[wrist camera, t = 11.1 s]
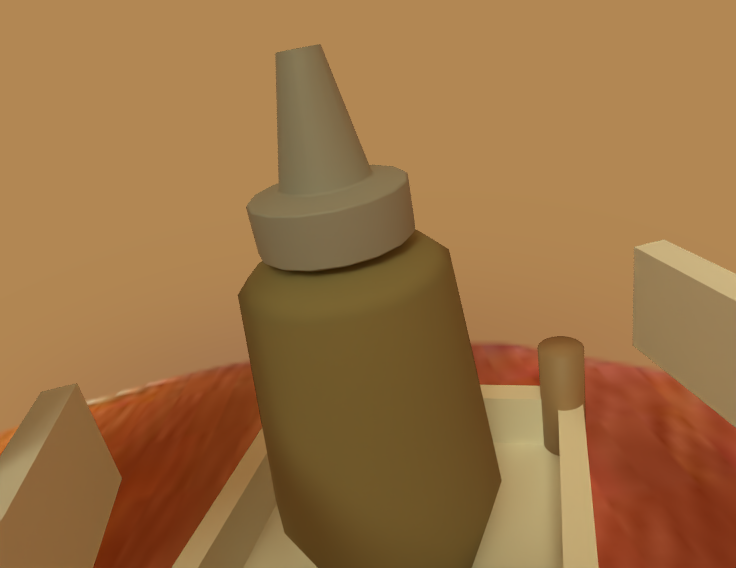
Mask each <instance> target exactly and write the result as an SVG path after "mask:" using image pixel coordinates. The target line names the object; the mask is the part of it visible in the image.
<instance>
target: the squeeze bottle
mask: <svg viewBox="0 0 736 568" xmlns="http://www.w3.org/2000/svg"><path fill="white" fill-rule="evenodd" d="M276 92H277V127H278V129H277V131H278V164H279V165H278V167H279V168H278V170H279V184H276V185H273V186H271V187H269V188H267V189H265V190H263V191H262V192H260V193H258V194H256V195H255V196H254V197H253V198H252V199H251V201H250V202H249V203H248V205H247V207H246V209H247V212H248V216H249V220H250V223H251V227H252V231H253V234H254V238H255V242H256V245H257V249H258V253H259V255H260V257H261V259H262V260H263V261H262V262H260V263H259V264H258V265H257V267H256V268H255V269H254V271H253V272H252V273H251V275H250V276H249V277H248V279H247V281H246V282H245V284H244V286H243V287H242V289H241V291H240V293H239V294H238V298H239V304H240V309H241V314H242V320H243V325H244V331H245V336H246V341H247V347H248V352H249V358H250V363H251V369H252V374H253V380H254V385H255V390H256V396H257V401H258V407H259V412H260V417H261V423H262V428H263V434H264V439H265V444H266V450H267V455H268V461H269V466H270V471H271V477H272V482H273V488H274V493H275V499H276V503H277V507H278V510H279V514H280V518H281V522H282V525H283V529H284V533H285V534H286V535H287V536H288V537H289V538H290V539H291V540H292V542H293V543H294V544H295V545H296V546H297V547H298V548H299V549H300V550H301V551H302V552H303V553H304V554H305V555H306V556H307V557H308V558H309V559H310V560H311V561H312V562H313V563H314V564H315V565H316V567H317V568H472V566H473V563H474V560H475V557H476V554H477V551H478V549H479V546H480V543H481V540H482V537H483V534H484V532H485V529H486V526H487V523H488V520H489V517H490V514H491V511H492V508H493V505H494V502H495V499H496V496H497V493H498V490H499V487H500V484H501V481H502V480H501V475H500V471H499V466H498V462H497V457H496V453H495V448H494V444H493V439H492V435H491V431H490V426H489V422H488V418H487V413H486V409H485V405H484V400H483V396H482V392H481V387H480V383H479V379H478V374H477V370H476V366H475V361H474V357H473V353H472V348H471V344H470V340H469V335H468V331H467V327H466V322H465V318H464V314H463V309H462V305H461V301H460V296H459V292H458V288H457V283H456V279H455V275H454V270H453V266H452V262H451V257H450V253H449V249H447V248H445V247H444V246H442V245H441V244H439V243H438V242H436V241H434V240H433V239H431V238H430V237H428V236H426V235H425V234H423V233H421V232H419V231H418V230H415V223H414V215H413V208H412V201H411V194H410V187H409V180H408V174H407V173H406V172H405V171H403V170H400V169H398V168H396V167H393V166H381V165H369V164H368V161H367V159H366V156H365V154H364V151H363V149H362V146H361V144H360V142H359V139H358V136H357V134H356V131H355V129H354V126H353V124H352V121H351V119H350V116H349V114H348V111H347V109H346V106H345V104H344V102H343V99H342V97H341V94H340V92H339V89H338V87H337V84H336V82H335V79H334V77H333V74H332V72H331V69H330V67H329V64H328V62H327V60H326V57H325V54H324V52H323V49H322V47H321V45H320V44H319V45H314V46H308V47H302V48H297V49H292V50H287V51H282V52H277V53H276Z"/></svg>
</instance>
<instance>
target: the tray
mask: <svg viewBox="0 0 736 568" xmlns="http://www.w3.org/2000/svg"><path fill="white" fill-rule="evenodd" d="M538 361H539V377H540V386H526V385H480V387H481V392H482V396H483V400H484V405H485V409H486V413H487V418H488V422H489V426H490V431H491V435H492V439H493V444H494V448H495V453H496V457H497V462H498V466H499V471H500V475H501V480H502V481H501V484H500V487H499V490H498V493H497V496H496V499H495V502H494V505H493V508H492V511H491V514H490V517H489V520H488V523H487V526H486V529H485V532H484V534H483V537H482V540H481V543H480V546H479V549H478V551H477V554H476V557H475V560H474V563H473V566H472V568H599V567H598V556H597V545H596V535H595V524H594V514H593V503H592V492H591V482H590V471H589V461H588V450H587V439H586V416H585V371H584V346H583V344H582V343H581V342H579V341H578V340H576V339H573V338H570V337H564V336H557V337H551V338H547V339H545V340H543V341H542V342H541V343H539V345H538ZM172 568H317V567H316V565H315V564H314V563H313V562H312V561H311V560H310V559H309V558H308V557H307V556H306V555H305V554H304V553H303V552H302V551H301V550H300V549H299V548H298V547H297V546H296V545H295V544H294V543H293V542H292V540H291V539H290V538H289V537H288V536H287V535H286V534H285V533H284V529H283V525H282V522H281V518H280V514H279V510H278V507H277V503H276V499H275V493H274V488H273V482H272V477H271V471H270V466H269V461H268V455H267V450H266V444H265V439H264V434H263V428H261V430H260V431H259V433H258V434H257V436H256V438H255V439H254V441H253V442H252V444H251V445H250V447H249V448H248V450H247V451H246V453H245V455H244V456H243V458H242V459H241V461H240V462H239V464H238V465H237V467H236V469H235V470H234V472H233V473H232V475H231V476H230V478H229V479H228V481H227V482H226V484H225V486H224V487H223V489H222V490H221V492H220V493H219V495H218V496H217V498H216V500H215V501H214V503H213V504H212V506H211V507H210V509H209V510H208V512H207V513H206V515H205V517H204V518H203V520H202V521H201V523H200V524H199V526H198V527H197V529H196V530H195V532H194V534H193V535H192V537H191V538H190V540H189V541H188V543H187V544H186V546H185V548H184V549H183V551H182V552H181V554H180V555H179V557H178V558H177V560H176V561H175V563H174V565H173V566H172Z"/></svg>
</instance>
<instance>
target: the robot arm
mask: <svg viewBox="0 0 736 568" xmlns="http://www.w3.org/2000/svg"><path fill="white" fill-rule="evenodd" d="M633 296H634V297H633V346H634V347H636V348H637V349H638V350H639V351H641V352H642V353H643V354H644V355H646V356H647V357H648V358H649V359H651V360H652V361H653V362H654V363H656V364H657V365H658V366H659V367H661V368H662V369H663V370H664V371H666V372H667V373H668V374H669V375H671V376H672V377H673V378H674V379H676V380H677V381H678V382H679V383H681V384H682V385H683V386H684V387H686V388H687V389H688V390H689V391H691V392H692V393H693V394H694V395H696V396H697V397H698V398H699V399H701V400H702V401H703V402H704V403H706V404H707V405H708V406H709V407H711V408H712V409H713V410H714V411H716V412H717V413H718V414H719V415H721V416H722V417H723V418H724V419H726V420H727V421H728V422H729V423H731V424H732V425H733V426H734V427H736V274H735V273H733V272H731V271H729V270H726V269H725V268H722V267H720V266H718V265H716V264H714V263H712V262H710V261H708V260H706V259H704V258H701V257H699V256H697V255H695V254H693V253H691V252H689V251H687V250H685V249H683V248H680V247H678V246H676V245H674V244H672V243H670V242H668V241H666V240H661V241H657V242H652V243H648V244H645V245H640V246H636V247H634V295H633ZM121 480H122V477H121V475H120V473H119V471H118V468H117V466H116V464H115V462H114V460H113V458H112V456H111V454H110V452H109V450H108V447H107V445H106V443H105V441H104V439H103V437H102V435H101V433H100V431H99V428H98V426H97V424H96V422H95V420H94V418H93V416H92V414H91V412H90V409H89V407H88V405H87V403H86V401H85V399H84V397H83V395H82V393H81V391H80V388H79V386H78V384H77V383H76V384H72V385H68V386H64V387H59V388H56V389H51V390H47V391H44V392H41V393H40V395H39V396H38V398H37V400H36V401H35V403H34V404H33V406H32V407H31V409H30V410H29V412H28V414H27V415H26V417H25V418H24V420H23V421H22V423H21V424H20V426H19V427H18V429H17V431H16V432H15V434H14V435H13V437H12V438H11V440H10V442H9V443H8V445H7V446H6V448H5V449H4V451H3V452H2V454H1V456H0V568H93V566H94V563H95V560H96V557H97V554H98V551H99V548H100V545H101V542H102V539H103V536H104V532H105V529H106V526H107V523H108V520H109V517H110V514H111V511H112V508H113V505H114V502H115V499H116V495H117V492H118V489H119V486H120V483H121Z"/></svg>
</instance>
